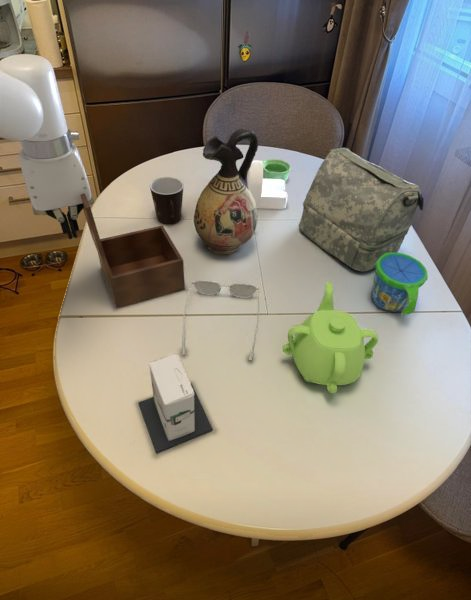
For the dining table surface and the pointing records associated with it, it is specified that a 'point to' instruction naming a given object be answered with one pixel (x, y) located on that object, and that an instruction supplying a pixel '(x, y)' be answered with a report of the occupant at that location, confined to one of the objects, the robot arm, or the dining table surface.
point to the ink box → (173, 396)
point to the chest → (142, 266)
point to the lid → (94, 233)
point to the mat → (158, 431)
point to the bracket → (266, 188)
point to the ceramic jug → (227, 196)
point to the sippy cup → (398, 282)
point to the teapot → (330, 345)
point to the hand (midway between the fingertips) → (71, 234)
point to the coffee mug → (167, 199)
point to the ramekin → (276, 169)
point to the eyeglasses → (214, 287)
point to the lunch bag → (358, 209)
